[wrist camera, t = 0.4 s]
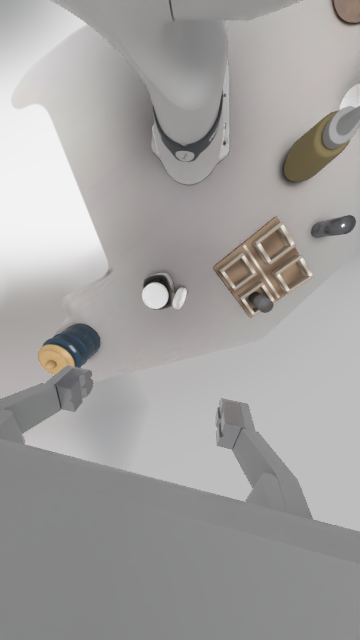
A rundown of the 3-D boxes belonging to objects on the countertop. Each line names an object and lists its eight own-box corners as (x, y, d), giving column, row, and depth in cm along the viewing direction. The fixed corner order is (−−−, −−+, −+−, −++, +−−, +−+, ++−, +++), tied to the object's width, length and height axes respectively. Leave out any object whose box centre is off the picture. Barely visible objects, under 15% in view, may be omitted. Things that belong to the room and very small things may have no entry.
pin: (314, 221, 45) (341, 214, 36) (328, 222, 45) (358, 216, 36) (309, 236, 46) (334, 233, 38) (322, 238, 46) (351, 234, 38)
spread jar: (147, 274, 54) (135, 279, 43) (182, 267, 52) (179, 271, 41) (156, 310, 58) (147, 323, 47) (189, 304, 56) (187, 317, 45)
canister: (105, 352, 66) (75, 385, 50) (74, 354, 68) (36, 387, 51) (95, 321, 61) (58, 346, 45) (62, 324, 63) (16, 349, 47)
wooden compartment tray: (212, 267, 51) (216, 270, 42) (274, 217, 45) (295, 207, 36) (249, 316, 56) (260, 329, 46) (309, 276, 50) (336, 282, 40)
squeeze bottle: (321, 166, 41) (409, 105, 24) (290, 195, 43) (349, 158, 26) (303, 135, 39) (383, 46, 22) (271, 167, 41) (323, 109, 25)
